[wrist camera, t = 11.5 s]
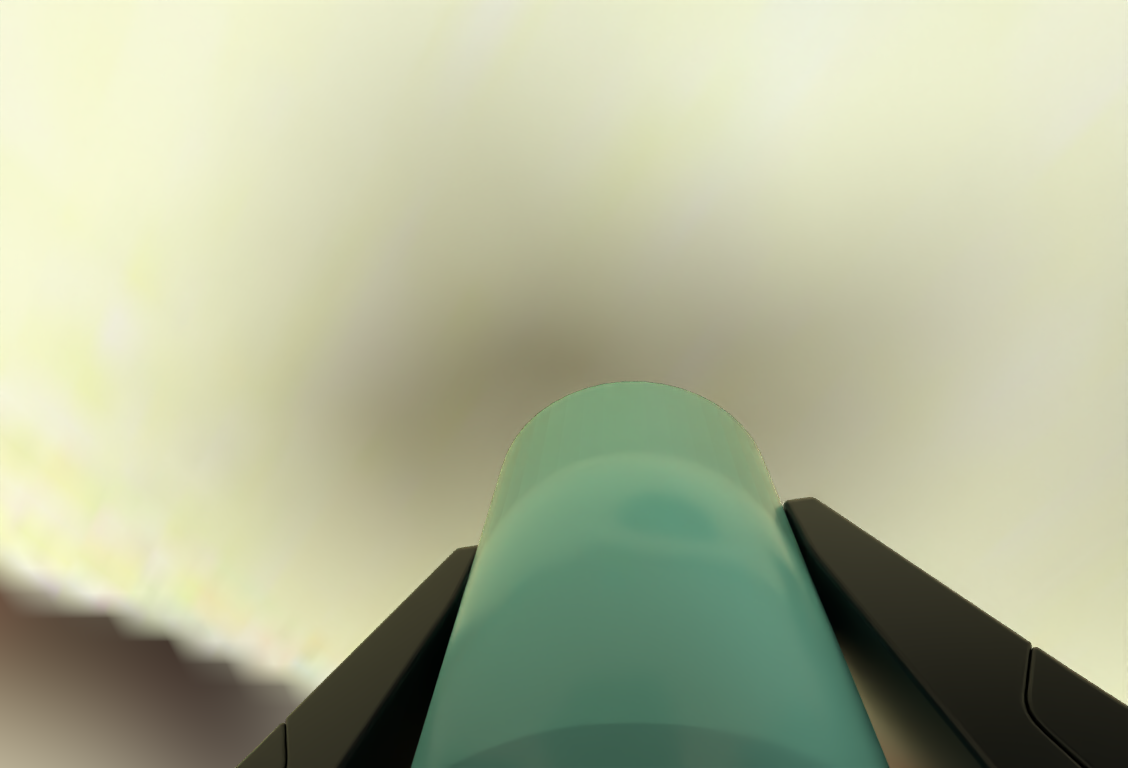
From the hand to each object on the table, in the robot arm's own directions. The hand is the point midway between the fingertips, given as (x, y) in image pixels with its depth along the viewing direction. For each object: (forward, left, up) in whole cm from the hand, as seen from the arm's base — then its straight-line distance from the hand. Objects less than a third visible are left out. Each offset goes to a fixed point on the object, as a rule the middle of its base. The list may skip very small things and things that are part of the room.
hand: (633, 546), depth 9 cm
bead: (0, 0, -1) cm, 1 cm away
